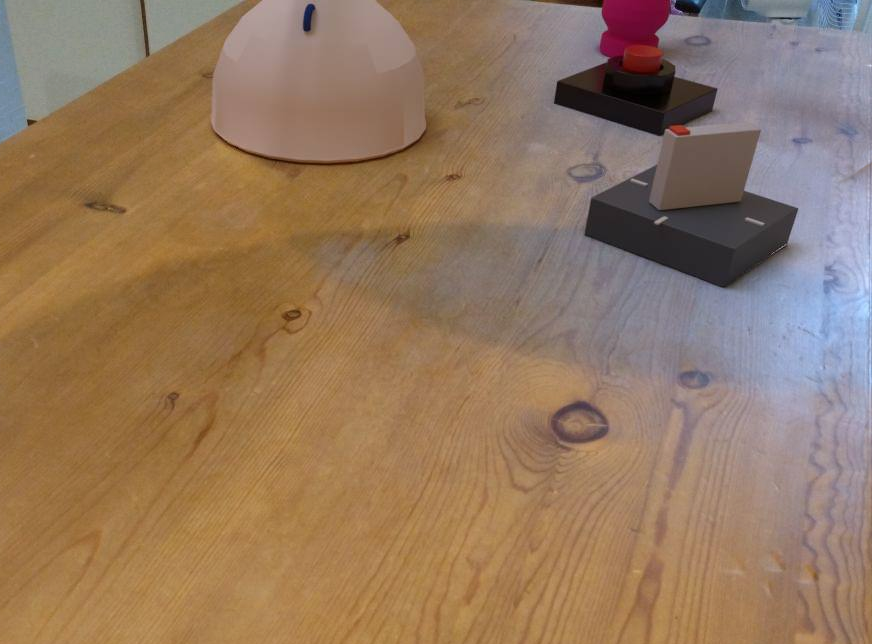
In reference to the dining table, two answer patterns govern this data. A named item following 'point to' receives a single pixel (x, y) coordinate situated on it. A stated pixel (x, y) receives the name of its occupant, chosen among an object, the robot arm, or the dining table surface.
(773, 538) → the dining table surface
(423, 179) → the dining table surface
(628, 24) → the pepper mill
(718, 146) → the upright beige slab
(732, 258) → the dial base
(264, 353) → the dining table surface
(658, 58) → the button
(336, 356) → the dining table surface
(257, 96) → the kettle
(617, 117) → the block
